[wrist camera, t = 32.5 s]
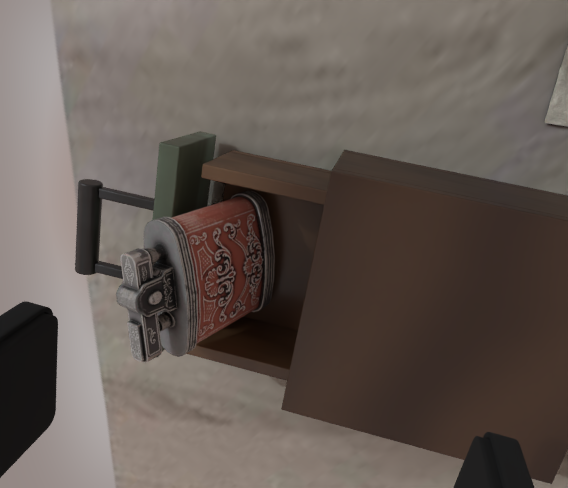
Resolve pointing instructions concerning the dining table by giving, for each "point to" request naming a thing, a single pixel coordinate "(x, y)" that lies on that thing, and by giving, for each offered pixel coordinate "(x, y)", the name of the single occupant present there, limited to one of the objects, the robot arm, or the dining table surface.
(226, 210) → the lighter
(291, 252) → the drawer
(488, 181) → the cabinet
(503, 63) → the dining table surface
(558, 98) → the condiment
